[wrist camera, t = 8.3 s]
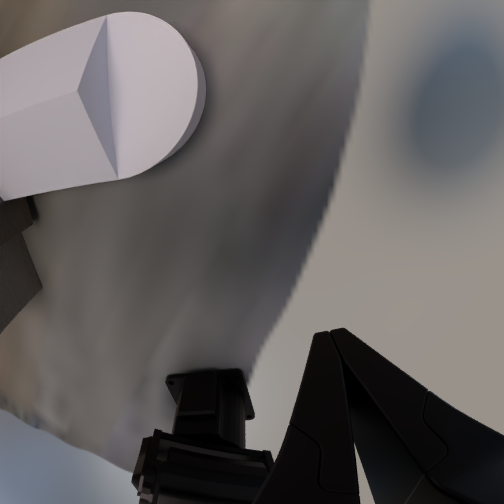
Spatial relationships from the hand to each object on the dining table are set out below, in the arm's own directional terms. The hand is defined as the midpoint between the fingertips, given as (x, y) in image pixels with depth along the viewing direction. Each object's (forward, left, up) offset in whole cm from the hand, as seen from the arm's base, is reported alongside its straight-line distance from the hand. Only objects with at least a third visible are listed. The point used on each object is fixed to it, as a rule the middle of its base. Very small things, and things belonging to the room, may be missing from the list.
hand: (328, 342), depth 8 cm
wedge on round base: (+9, +10, -12) cm, 18 cm away
